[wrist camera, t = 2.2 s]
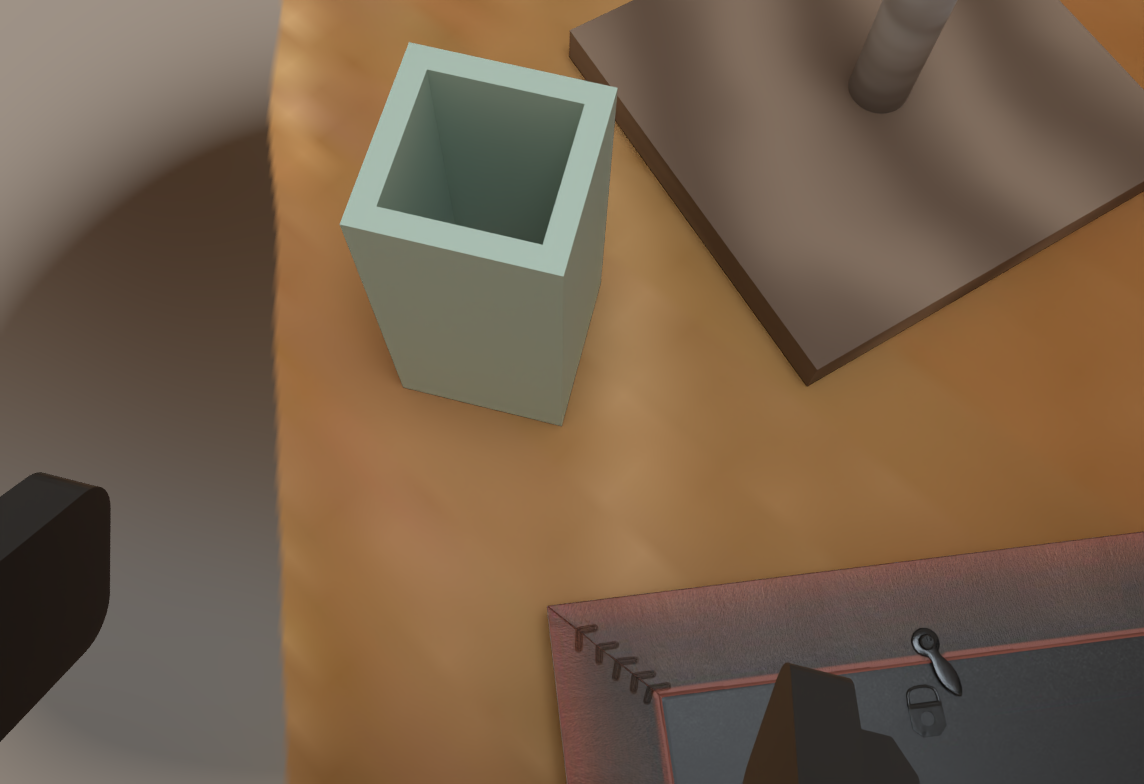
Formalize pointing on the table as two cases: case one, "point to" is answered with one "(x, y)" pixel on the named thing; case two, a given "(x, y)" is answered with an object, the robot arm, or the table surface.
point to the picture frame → (872, 667)
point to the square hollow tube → (485, 228)
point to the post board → (869, 147)
